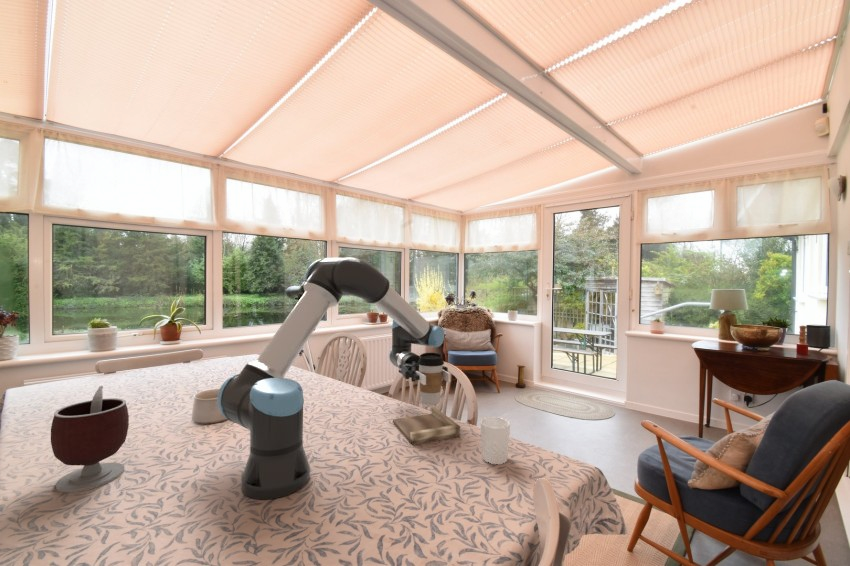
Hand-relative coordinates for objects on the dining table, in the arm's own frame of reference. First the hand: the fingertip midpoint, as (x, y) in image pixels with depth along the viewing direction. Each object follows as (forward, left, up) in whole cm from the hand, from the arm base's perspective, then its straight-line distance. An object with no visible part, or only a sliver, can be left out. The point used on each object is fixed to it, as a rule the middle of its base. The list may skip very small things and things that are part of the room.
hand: (437, 379), depth 114 cm
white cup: (+9, -18, -18) cm, 27 cm away
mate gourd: (-87, +11, -18) cm, 90 cm away
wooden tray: (-1, +7, -18) cm, 19 cm away
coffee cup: (0, +5, -9) cm, 10 cm away
